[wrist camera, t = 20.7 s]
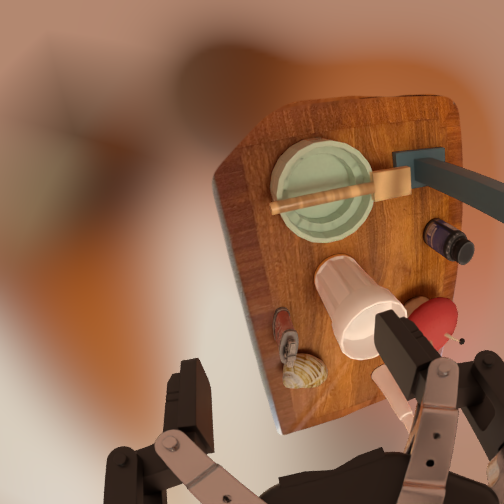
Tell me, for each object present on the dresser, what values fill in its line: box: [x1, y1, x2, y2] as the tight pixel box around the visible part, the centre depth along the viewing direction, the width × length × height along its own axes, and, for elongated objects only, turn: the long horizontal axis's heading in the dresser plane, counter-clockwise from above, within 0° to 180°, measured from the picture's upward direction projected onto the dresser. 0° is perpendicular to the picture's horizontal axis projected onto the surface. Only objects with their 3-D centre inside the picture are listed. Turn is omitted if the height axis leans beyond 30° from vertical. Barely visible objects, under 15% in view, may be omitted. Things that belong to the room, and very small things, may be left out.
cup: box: [314, 254, 407, 360], centre depth 49 cm, size 11×11×17 cm
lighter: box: [273, 307, 298, 367], centre depth 56 cm, size 8×3×10 cm, turn 0°
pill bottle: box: [424, 218, 474, 265], centre depth 51 cm, size 6×6×11 cm
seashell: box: [283, 354, 328, 388], centre depth 63 cm, size 10×10×10 cm
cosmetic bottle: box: [371, 364, 414, 434], centre depth 62 cm, size 6×6×22 cm
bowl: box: [270, 137, 374, 243], centre depth 47 cm, size 16×16×6 cm
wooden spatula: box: [269, 166, 411, 215], centre depth 43 cm, size 23×4×2 cm, turn 102°
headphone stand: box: [392, 147, 504, 223], centre depth 35 cm, size 7×12×32 cm, turn 101°
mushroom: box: [404, 296, 465, 351], centre depth 57 cm, size 16×16×15 cm
